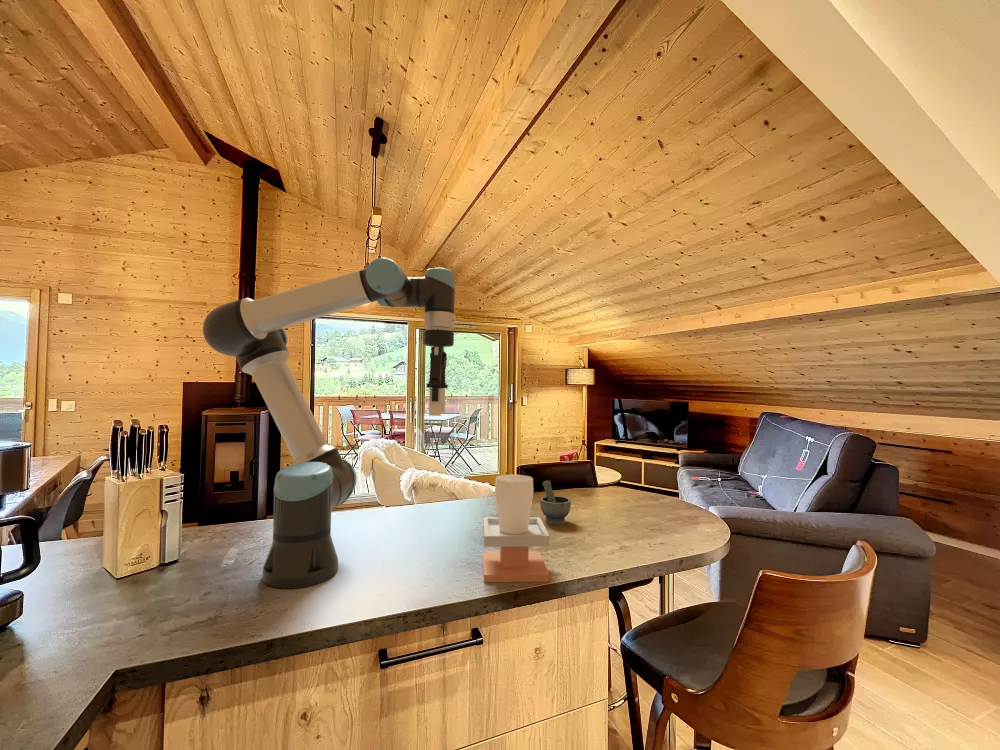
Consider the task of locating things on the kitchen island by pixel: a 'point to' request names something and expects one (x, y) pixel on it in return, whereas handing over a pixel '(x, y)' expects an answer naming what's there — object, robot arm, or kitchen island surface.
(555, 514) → the mortar and pestle
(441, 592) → the kitchen island surface
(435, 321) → the robot arm
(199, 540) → the kitchen island surface
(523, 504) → the cup
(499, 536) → the stand
